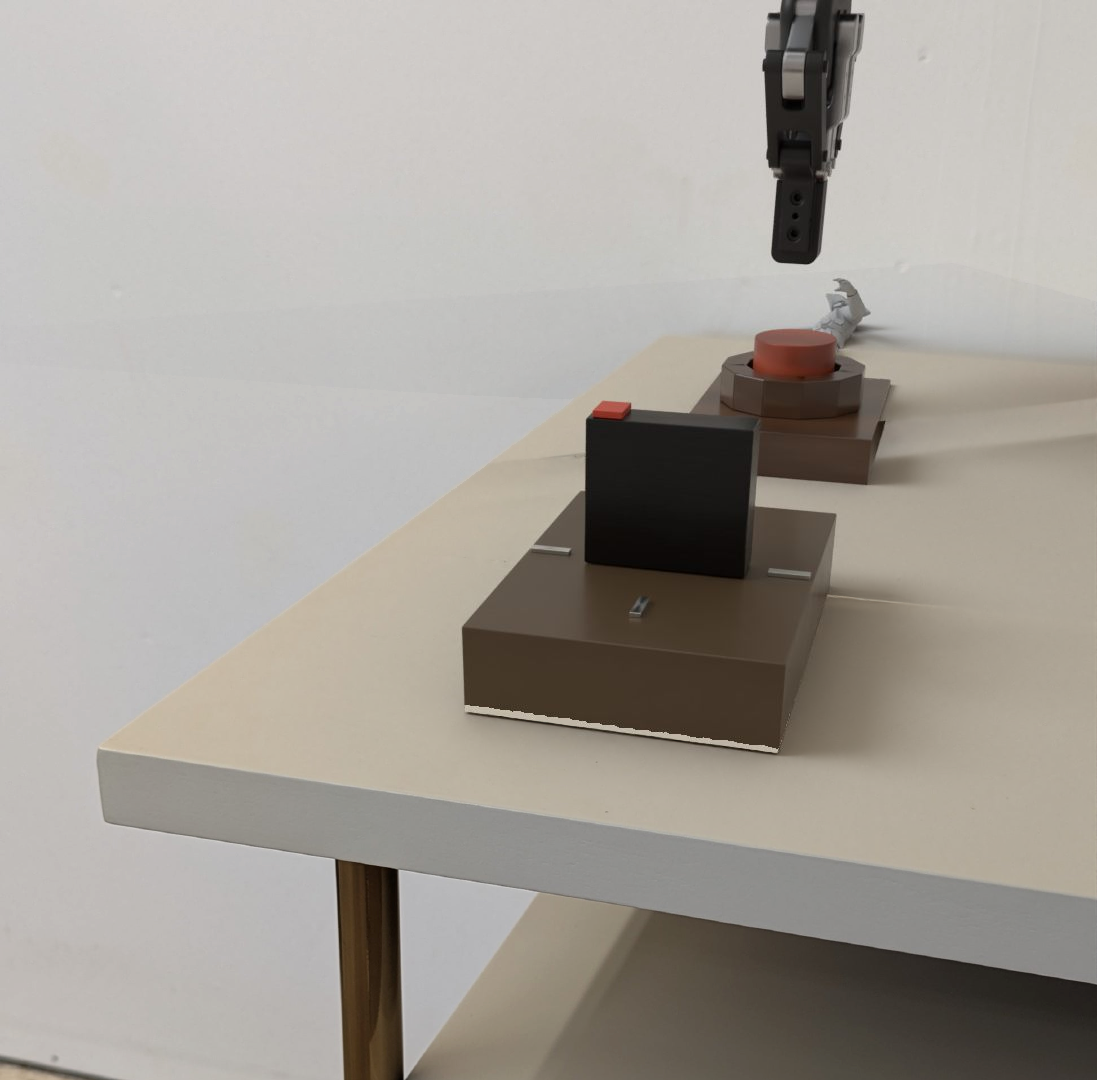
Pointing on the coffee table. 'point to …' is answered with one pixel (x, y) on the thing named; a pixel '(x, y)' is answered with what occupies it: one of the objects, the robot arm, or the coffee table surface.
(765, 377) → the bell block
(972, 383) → the coffee table surface
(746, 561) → the battery-shaped black case
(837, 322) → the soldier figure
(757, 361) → the red push button
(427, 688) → the coffee table surface
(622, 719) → the plate
